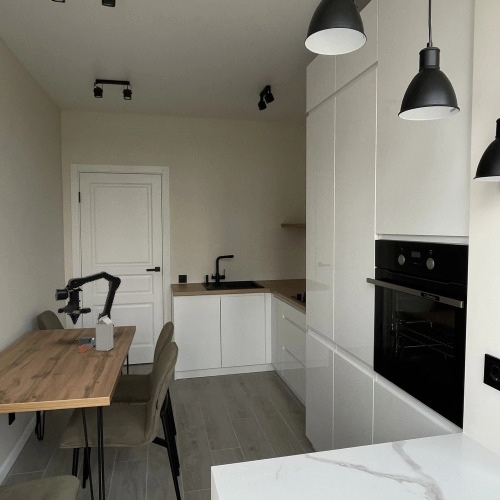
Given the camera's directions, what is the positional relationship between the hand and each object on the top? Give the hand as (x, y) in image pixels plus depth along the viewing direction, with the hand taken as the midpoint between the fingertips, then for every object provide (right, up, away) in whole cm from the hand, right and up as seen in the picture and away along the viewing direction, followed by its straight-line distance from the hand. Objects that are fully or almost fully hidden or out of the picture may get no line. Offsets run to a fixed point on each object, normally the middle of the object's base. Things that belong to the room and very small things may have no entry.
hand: (74, 324), depth 247 cm
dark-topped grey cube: (+10, -11, -8) cm, 17 cm away
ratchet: (+12, -11, -14) cm, 22 cm away
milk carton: (+24, -12, -16) cm, 31 cm away
